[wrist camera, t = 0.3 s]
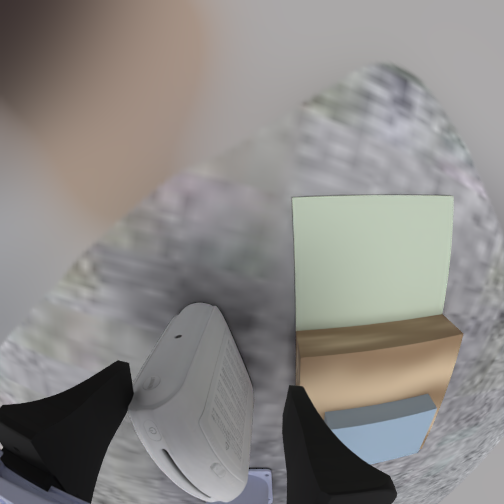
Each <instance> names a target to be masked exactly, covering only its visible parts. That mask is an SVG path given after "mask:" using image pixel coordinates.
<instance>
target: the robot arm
mask: <svg viewBox="0 0 504 504" xmlns="http://www.w3.org/2000/svg"><path fill="white" fill-rule="evenodd" d="M133 395H134V391H133V385H132V379H131V373H130V367H129V363H127V362H123V361H116V362H114V363H113V364H111V365H110V366H108V367H106V368H105V369H103V370H102V371H100V372H99V373H97V374H95V375H94V376H92V377H91V378H89V379H87V380H85V381H84V382H82V383H80V384H78V385H76V386H74V387H72V388H70V389H68V390H66V391H64V392H61V393H59V394H56V395H54V396H50V397H47V398H44V399H41V400H37V401H32V402H27V403H21V404H10V405H2V406H1V407H0V443H1V444H2V446H3V449H2V450H1V449H0V504H91V501H92V497H93V492H94V488H95V484H96V481H97V477H98V474H99V471H100V468H101V465H102V462H103V459H104V456H105V454H106V451H107V448H108V446H109V444H110V442H111V440H112V438H113V436H114V435H115V433H116V431H117V429H118V427H119V426H120V424H121V422H122V420H123V418H124V417H125V415H126V413H127V411H128V406H129V404H130V403H131V401H132V398H133ZM282 434H283V443H284V452H285V460H286V469H287V504H392V503H393V501H394V500H395V498H396V497H397V492H396V489H395V486H394V484H393V481H392V480H391V478H390V476H389V475H387V474H385V473H384V472H382V471H380V470H378V469H376V468H374V467H373V466H371V465H370V464H368V463H367V462H365V461H364V460H362V459H361V458H360V457H358V456H357V455H356V454H355V453H353V452H352V451H351V450H350V449H349V448H348V447H347V446H345V445H344V444H343V443H342V442H341V441H340V440H339V438H338V437H337V436H336V435H335V434H334V433H333V432H332V430H331V429H330V428H329V427H328V425H327V424H326V423H325V421H324V420H323V419H322V417H321V416H320V414H319V413H318V411H317V410H316V408H315V407H314V405H313V403H312V401H311V400H310V398H309V396H308V394H307V392H306V390H305V388H304V387H303V386H291V385H289V389H288V394H287V399H286V403H285V407H284V412H283V426H282ZM271 503H273V495H272V475H271V470H270V469H249V472H248V481H247V484H246V486H245V488H244V490H243V491H242V493H241V494H240V495H239V496H238V497H236V498H235V499H233V500H232V501H229V502H222V501H216V502H208V501H207V502H206V504H271Z"/></svg>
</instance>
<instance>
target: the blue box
mask: <svg viewBox="0 0 504 504" xmlns="http://www.w3.org/2000/svg"><path fill="white" fill-rule="evenodd" d="M436 410H437V407H436V405H435V404H434V402H433V401H432V399H431V397H430V396H429V394H424V395H420V396H416V397H412V398H407V399H403V400H398V401H393V402H388V403H383V404H377V405H372V406H366V407H359V408H352V409H345V410H337V411H329V412H325V417H324V421H325V423H326V424H327V425H328V427H329V428H330V429H331V430H332V432H333V433H334V434H335V435H336V436H337V437H338V438H339V440H340V441H341V442H342V443H343V444H344V445H345V446H347V447H348V448H349V449H350V450H351V451H352V452H353V453H355V454H356V455H357V456H358V457H360V458H361V459H362V460H364V461H365V462H367V463H368V464H374V463H379V462H383V461H387V460H392V459H396V458H400V457H404V456H407V455H411V454H415V453H418V451H419V449H420V447H421V445H422V443H423V440H424V438H425V436H426V434H427V432H428V429H429V427H430V425H431V422H432V420H433V418H434V415H435V413H436Z"/></svg>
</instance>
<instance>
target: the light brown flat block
mask: <svg viewBox="0 0 504 504" xmlns="http://www.w3.org/2000/svg"><path fill="white" fill-rule="evenodd" d="M462 337H463V333H462V332H461V331H460V330H459V329H458V328H457V327H456V326H455V325H453V324H452V323H451V322H450V321H449V320H448V319H447V318H446V317H445V316H444V315H443V314H440V315H434V316H428V317H421V318H415V319H408V320H401V321H393V322H385V323H377V324H369V325H359V326H350V327H339V328H328V329H316V330H302V331H296V386H303V387H304V388H305V390H306V392H307V394H308V396H309V398H310V400H311V401H312V403H313V405H314V407H315V408H316V410H317V411H318V413H319V414H320V416H321V417H322V419H323V420H324V417H325V412H329V411H337V410H345V409H352V408H359V407H366V406H372V405H377V404H383V403H388V402H393V401H398V400H403V399H407V398H412V397H416V396H420V395H424V394H429V396H430V397H431V399H432V401H433V402H434V404H435V405H436V407H437V410H436V413H435V415H434V418H433V420H432V422H431V425H430V427H429V429H428V432H427V434H426V436H425V438H424V440H423V443H422V445H421V447H420V449H421V448H422V447H423V445H424V442H425V440H426V438H427V436H428V434H429V432H430V429H431V427H432V425H433V423H434V420H435V418H436V415H437V413H438V411H439V408H440V406H441V403H442V400H443V398H444V395H445V392H446V389H447V387H448V384H449V381H450V378H451V375H452V372H453V369H454V365H455V362H456V359H457V355H458V352H459V348H460V345H461V341H462Z"/></svg>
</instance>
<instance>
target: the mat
mask: <svg viewBox="0 0 504 504" xmlns="http://www.w3.org/2000/svg"><path fill="white" fill-rule="evenodd" d="M292 210H293V233H294V260H295V303H296V331H302V330H316V329H328V328H339V327H350V326H359V325H369V324H377V323H385V322H393V321H401V320H408V319H415V318H421V317H428V316H434V315H440V314H442V312H443V307H444V301H445V294H446V288H447V281H448V273H449V264H450V254H451V243H452V228H453V196H439V195H348V196H314V197H292Z"/></svg>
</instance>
